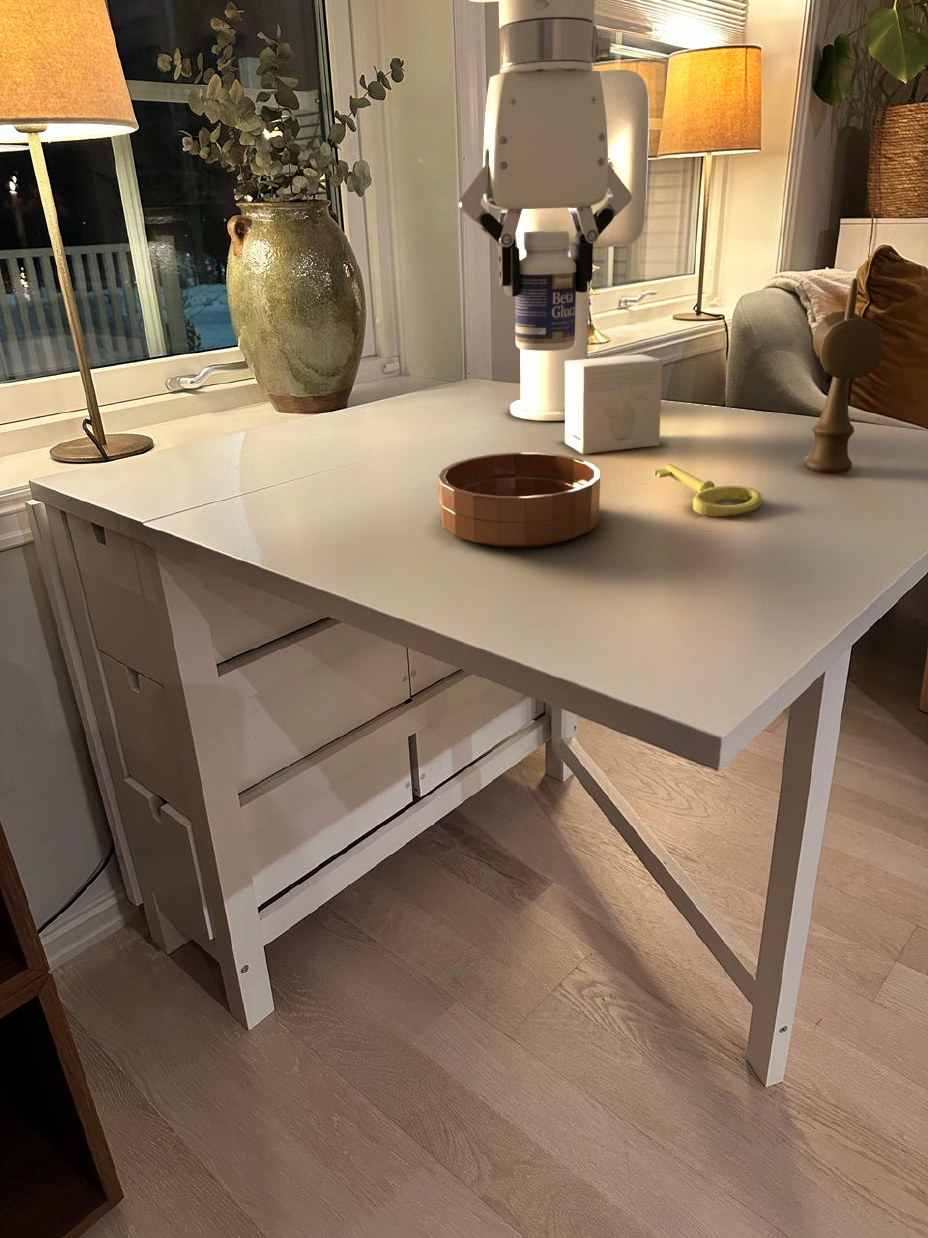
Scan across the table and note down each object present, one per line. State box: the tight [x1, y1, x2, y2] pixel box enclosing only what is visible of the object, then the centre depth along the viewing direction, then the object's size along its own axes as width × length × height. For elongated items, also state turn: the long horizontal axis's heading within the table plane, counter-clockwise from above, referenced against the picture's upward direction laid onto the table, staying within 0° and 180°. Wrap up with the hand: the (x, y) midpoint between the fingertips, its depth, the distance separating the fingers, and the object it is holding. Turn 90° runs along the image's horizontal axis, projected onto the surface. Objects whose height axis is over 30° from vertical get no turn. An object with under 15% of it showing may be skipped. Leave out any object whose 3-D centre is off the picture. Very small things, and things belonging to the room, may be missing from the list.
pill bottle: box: [514, 231, 576, 351], centre depth 79 cm, size 5×5×10 cm
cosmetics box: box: [564, 353, 664, 455], centre depth 109 cm, size 10×6×10 cm, turn 105°
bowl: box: [437, 452, 601, 548], centre depth 85 cm, size 15×15×5 cm
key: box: [653, 463, 762, 517], centre depth 90 cm, size 7×12×2 cm, turn 44°
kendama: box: [803, 278, 885, 474], centre depth 94 cm, size 6×10×20 cm, turn 167°
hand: (545, 290), depth 79 cm, fingers closed on pill bottle, 5 cm apart
